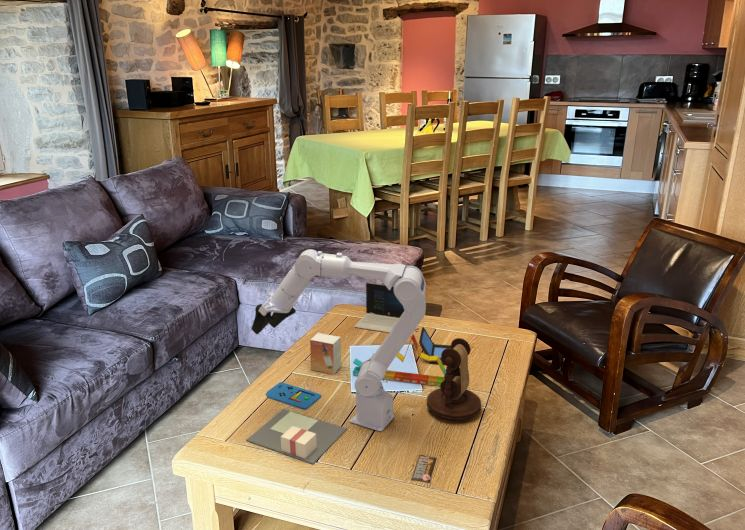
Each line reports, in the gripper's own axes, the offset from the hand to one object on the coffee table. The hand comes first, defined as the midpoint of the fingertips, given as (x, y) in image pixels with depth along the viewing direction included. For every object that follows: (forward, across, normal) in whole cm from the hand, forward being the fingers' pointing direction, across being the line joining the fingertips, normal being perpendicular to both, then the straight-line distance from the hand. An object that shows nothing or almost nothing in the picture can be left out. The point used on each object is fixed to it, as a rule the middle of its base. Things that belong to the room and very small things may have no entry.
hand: (263, 328), depth 159 cm
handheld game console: (-4, -54, +34) cm, 64 cm away
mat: (+14, +2, +25) cm, 29 cm away
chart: (+1, -35, +33) cm, 48 cm away
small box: (+15, -31, +13) cm, 37 cm away
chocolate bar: (-4, 0, +54) cm, 54 cm away
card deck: (+12, +7, +28) cm, 32 cm away
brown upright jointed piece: (-8, -26, +49) cm, 56 cm away
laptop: (+7, -68, +12) cm, 69 cm away
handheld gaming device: (+18, -14, +14) cm, 27 cm away
